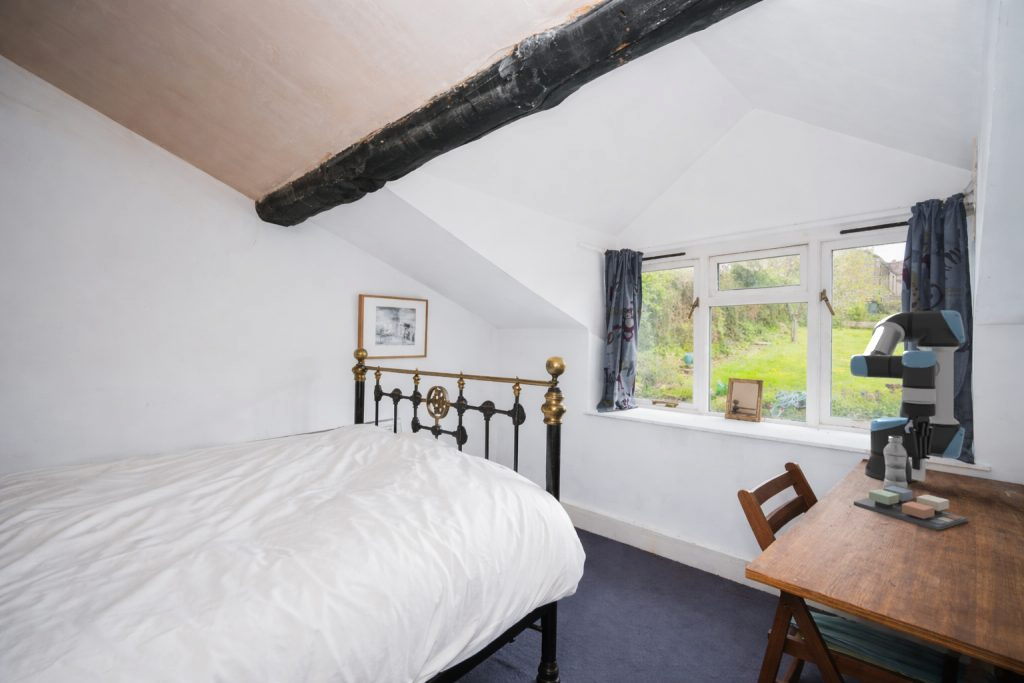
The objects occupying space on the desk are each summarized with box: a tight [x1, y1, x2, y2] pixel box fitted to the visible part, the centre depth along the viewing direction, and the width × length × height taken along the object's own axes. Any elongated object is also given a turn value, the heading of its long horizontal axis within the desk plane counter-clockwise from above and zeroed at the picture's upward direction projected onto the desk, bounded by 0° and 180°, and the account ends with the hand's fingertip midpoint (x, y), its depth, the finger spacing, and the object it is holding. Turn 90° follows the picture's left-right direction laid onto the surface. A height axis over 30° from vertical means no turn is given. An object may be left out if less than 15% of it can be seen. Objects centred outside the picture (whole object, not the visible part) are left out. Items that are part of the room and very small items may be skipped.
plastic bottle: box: [882, 436, 909, 490], centre depth 159 cm, size 6×7×20 cm
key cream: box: [916, 494, 950, 511], centre depth 139 cm, size 6×6×2 cm
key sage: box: [868, 488, 899, 505], centre depth 145 cm, size 6×6×2 cm
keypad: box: [853, 497, 968, 531], centre depth 142 cm, size 16×22×3 cm
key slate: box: [883, 486, 914, 501], centre depth 148 cm, size 6×6×2 cm
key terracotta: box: [902, 501, 934, 519], centre depth 136 cm, size 6×6×2 cm
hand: (918, 479), depth 136 cm, fingers closed
